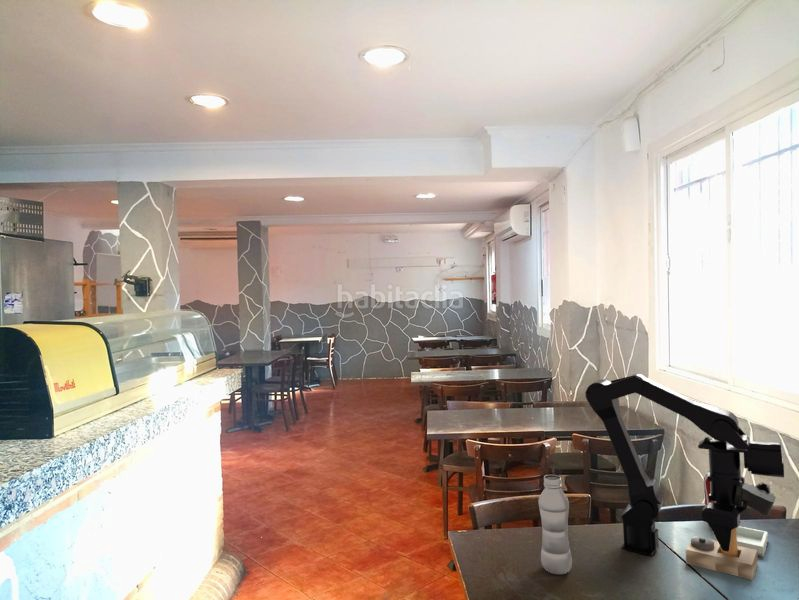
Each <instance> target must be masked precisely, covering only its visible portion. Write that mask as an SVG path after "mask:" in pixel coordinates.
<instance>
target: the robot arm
mask: <svg viewBox="0 0 799 600" xmlns="http://www.w3.org/2000/svg"><path fill="white" fill-rule="evenodd" d="M633 394H638V395H639V396H641V397H643V398H646V399H648V400H650V401H651V402H653V403H655V404H658V405H659V406H661V407H664V408H665V409H668V410H669V411H671V412H674V413H675V414H677V415H679V416H682V417H683V418H685V419H687V420H688V421H690V422H691V423H693V425H695V427H697V428H698V429H699V430H701V431H702V432H704V433H705V434H706V435H705V437H704V438H703V439H702V440H700V441H699V442H698V444H697V445H698V446H697V448H698V449H701V450H708V465H709V467H708V469H709V471H710V474H709V475H708V481H710V490H711V493H710V494H709V500H711V501H715V503H708V504H707V505H706V506H705V505H704V506H703V508H702V510H701V520H702V521H703V522H705V523H707V524H708V526H709V528H710V529H711V531H712V533H713V534H714V538H715V537H716V539H717V541H718V542H719V544H720V546H721V548H722V550H723V551H727V552H728V551H729V547H730V541H731V535H732V530H733V529H734V528H737V527H738V526H740V524H741V513H742V512H744V511H746V510H747V509H748V507H749V508H751V509H753V510H755V511H757V512H759V513H760V514H762V515H764V516H769V515H770V513H771V511H772V509H773V506H774V503H775V501H776V499H777V498H776V497H777V496H775V494H774V493H773V492H771V488H770V485H769V484H768V483H766V482H763V481H760V482H759V483H757V484H756V485H754V484H749V483H746V482H745V480H746V479H745V476H743V475H744V474H743V473H742V470H741V469H742V468H741V453H742V454H743V463H744V464H743V466H744V469H746V470H747V471H748V472H750V474H751V475H756V476H765V477H773V478H774V477H775V478H781V479H784V478H785V463H784V460H783V454H782V445H781V442H775V441H773V442H772V441H771V442H770V441H769V442H766V441H765V442H764V441H753V440H750V437H749V436H748V435H747V434H746V433H745V432H744V431H743V430H742V428H741V427H740V426H739V419H738V418H737V416H736V415H735V414H734V413H733V412H732V411H730V410H728V409H725V408H721V407H718V406H715V405H710V404H706V403H703V402H698V401H695V400H693V399H691V398H689V397H687V396H685V395H683V394H680V393H679V392H678V391H677V392H676V391H674V390H672V389H671V388H668V387H666V386H664V385H663V384H660V383H657V382H656V381H653V380H651V379H650V378H648V377H646V376H645V375H643V374H641V373H634V374H632V375H629V376H625V377H621V378H617V379H614V380H607V379H605V378H603V379H598V380H596V381H594V382H592V383H591V384H589V385H588V387H587V388H586V390H585V394H584V395H585V399H586V401H587V403H588V404H589V406H590V407H591V409H592V410H593V412H594V413H595V414H596V416H597V417H598V418H599V419H600V420H601V421H602V423H603V425H604V428H605V430H606V433H607V435H608V437H609V440H610V443H611V445H612V447H613V451H614V452H615V454H616V457H617V459H618V461H619V464H620V466H621V469H622V471H623V473H624V476H625V479H626V483H627V491H628V498H629V503H628V504H627V506H626V507H625V510H623V513H622V515H621V520H622V530H623V533H622V535H623V544H622V545H621V549H622V550H626V551H630V552H634V553H638V554H641V555H646V556H648V557H649V556H650V557H651V556H653V554H654V553H655V551H657V549H658V548H659V543H660V542H659V529H658V528H656V522H655V519H656V518H657V517H658V515H660V514H659V513H660V512H661V509H662V507H663V504H664V499H663V498H664V496H665V493H664V492H663V491H662V490H661V488H660V484H659V480H658V478H657V477H655V478H652V479H651V478H650V477H649V476H648V474H647V473H646V472H645V470H644V467H643V464H642V463H641V461H640V458H639V455H638V453H637V451H636V448H635V446H634V444H633V442H632V439H631V437H630V434H629V432H628V430H627V427H626V424H625V423H624V420H623V418H622V415H621V407H620V400H619V398H620V399H621V398H622V397H626V396H629V395H633Z"/></svg>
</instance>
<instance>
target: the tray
mask: <svg viewBox="0 0 799 600" xmlns="http://www.w3.org/2000/svg"><path fill="white" fill-rule="evenodd" d="M736 532H737V546H741V547H746V548H750V549H755V550H757V557H764V556H765V554H764V553H766V551H767V547H766V546H768V544H767V542H768V543H769V536H768V531H765V530H759V529H754V528H750V527H744V526H741V525H739V526H738V527H737V528H736ZM714 541H717V539H716V537H715V536H714Z"/></svg>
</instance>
